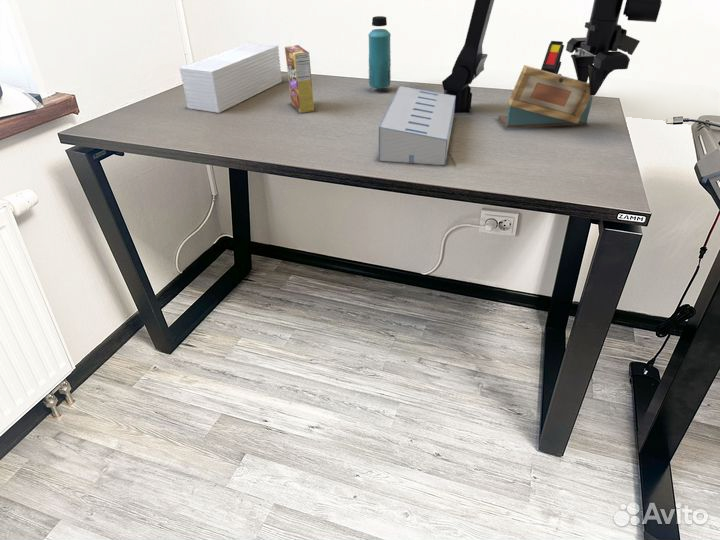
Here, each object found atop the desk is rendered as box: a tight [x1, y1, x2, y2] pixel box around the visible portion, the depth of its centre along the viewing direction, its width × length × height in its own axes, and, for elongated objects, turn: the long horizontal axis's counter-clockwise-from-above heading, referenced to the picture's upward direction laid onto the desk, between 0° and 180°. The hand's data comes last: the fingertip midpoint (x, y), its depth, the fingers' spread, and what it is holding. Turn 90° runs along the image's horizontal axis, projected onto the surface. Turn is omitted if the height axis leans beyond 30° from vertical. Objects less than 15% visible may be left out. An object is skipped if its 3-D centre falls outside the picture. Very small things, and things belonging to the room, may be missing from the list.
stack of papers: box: [179, 42, 283, 114], centre depth 151 cm, size 32×11×11 cm, turn 155°
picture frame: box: [507, 64, 591, 124], centre depth 121 cm, size 18×2×9 cm, turn 95°
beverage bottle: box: [367, 15, 392, 89], centre depth 149 cm, size 6×7×20 cm
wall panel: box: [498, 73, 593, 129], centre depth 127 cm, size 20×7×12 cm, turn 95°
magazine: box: [540, 40, 565, 74], centre depth 141 cm, size 4×13×15 cm, turn 155°
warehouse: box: [378, 85, 456, 166], centre depth 121 cm, size 30×14×8 cm, turn 168°
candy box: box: [284, 44, 315, 114], centre depth 139 cm, size 9×4×15 cm, turn 23°
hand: (587, 91), depth 122 cm, fingers open, 5 cm apart
